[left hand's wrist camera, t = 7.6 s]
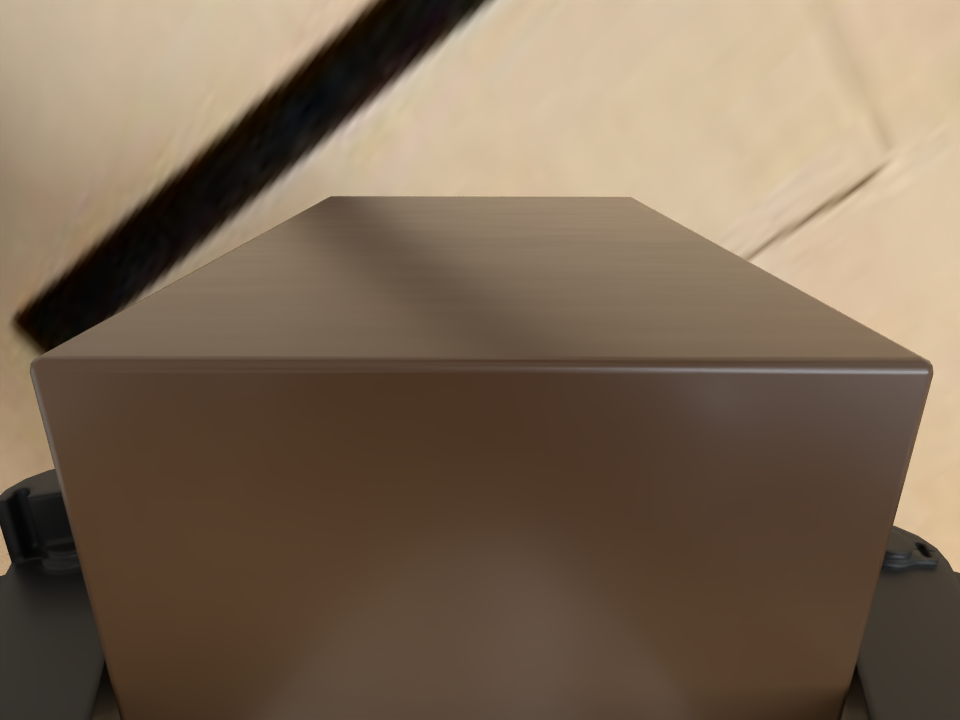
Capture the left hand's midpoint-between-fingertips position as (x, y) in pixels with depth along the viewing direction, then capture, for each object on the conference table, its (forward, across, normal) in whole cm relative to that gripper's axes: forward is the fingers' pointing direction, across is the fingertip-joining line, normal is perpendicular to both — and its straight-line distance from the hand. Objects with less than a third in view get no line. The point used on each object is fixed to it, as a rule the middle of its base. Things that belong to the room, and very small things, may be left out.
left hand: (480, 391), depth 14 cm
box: (+1, 0, -10) cm, 10 cm away
